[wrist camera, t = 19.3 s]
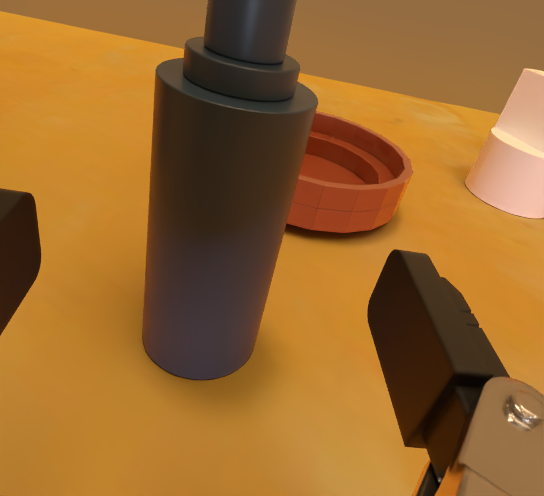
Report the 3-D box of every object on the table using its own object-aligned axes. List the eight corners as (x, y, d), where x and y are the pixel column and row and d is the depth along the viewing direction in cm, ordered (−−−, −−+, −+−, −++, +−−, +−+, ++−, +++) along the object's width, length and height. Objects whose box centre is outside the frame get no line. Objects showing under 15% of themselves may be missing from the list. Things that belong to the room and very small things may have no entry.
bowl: (171, 182, 36) (176, 128, 33) (267, 135, 48) (276, 94, 46) (359, 269, 31) (381, 215, 28) (410, 192, 44) (429, 149, 41)
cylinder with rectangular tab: (567, 216, 47) (644, 104, 40) (509, 220, 43) (583, 97, 36) (503, 176, 53) (560, 73, 46) (448, 176, 49) (501, 64, 42)
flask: (116, 340, 22) (118, -157, 11) (189, 282, 26) (237, -111, 16) (214, 401, 20) (322, -116, 10) (273, 328, 25) (390, -78, 14)
